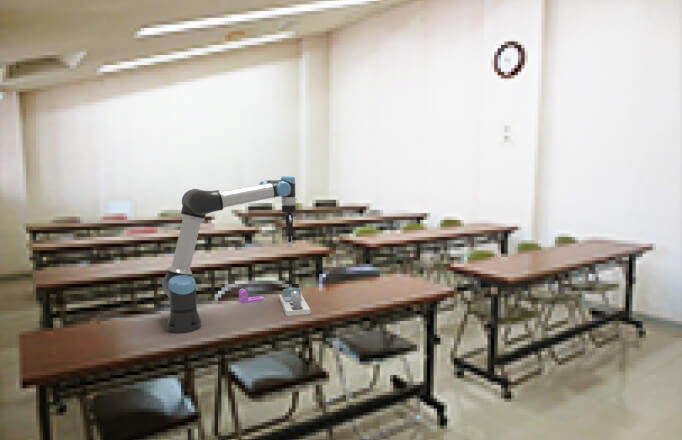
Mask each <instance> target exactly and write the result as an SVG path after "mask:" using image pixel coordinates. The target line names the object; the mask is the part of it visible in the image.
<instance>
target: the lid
mask: <svg viewBox="0 0 682 440" xmlns="http://www.w3.org/2000/svg"><path fill="white" fill-rule="evenodd" d="M282 291H283V293H282V294H283V295H282V298H283V299H284V300H285V302H288V301H291V291H299V295H302V293H301V287H297V288H296V287H295V288H284V289H282ZM301 300H302V297H301Z"/></svg>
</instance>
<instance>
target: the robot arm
mask: <svg viewBox="0 0 682 440" xmlns="http://www.w3.org/2000/svg"><path fill="white" fill-rule="evenodd" d="M279 197H281V204H282V205H281V212H282V213H285V215H284V221H285V233H286V234H285V237H286V249H293V236H294V235H293V233H294V232H293V231H294V230H293V226H294V225H293V224H294V215H293V214H292V213H296V211H297V210H296V209H297V206H296V201H297V198H296V178H295V176H294V175H292V176H291V175H288V176H287V175H286V176H285V175H283V176H281V177H280V179H277V180H274V179H273V180H261V181H260V182H259V184H257V185H251V186H247V187H239V188H234V189H228V190H223V191H220V190H219V189H217V190H203V189H198V188H192V189H190V190H189V189H188V190H187V191H186V192H184V194H183V195H182V198H181V205H182V206H181V211H180V215H181V217H182V221H181V226H180V228H179V234H178V237H177V241H176V242H177V243H176V247H175V251H174V255H173V260H172V263H171V266H169V267H168V268H167V270H166V275H165V276H164V278H163V279H162V282H161V287H162V290H163V293H164V294H165V295H166V296H167V297H168V299H169V309H170V310H169V311H170V313H169V315H168V321H167V324H166V329H168V330H167V331H168V332H170V331H171V332H170V333H175V332H177V334H179V333H180V334H181V333H190V332H192V331H196V330H199V328H201V327H202V319H201V316H200V314H199V312H198V309H197V308H198V307H197V284H196V283H197V282H196V280H195V278H194V277H193V276H192V275H193V272H192V270H191V265H192V261H193V258H194V253H195V249H196V245H197V241H198V240H197V239H198V236H199V231H200V228H201V223H202V222H203V221H204V220H206V215H208V214H211V213H216V212H218V211H223V210H224V209H225V208H229V207H233V206H238V205H243V204H248V203H253V202H257V201H262V200H269V199H273V198H279Z"/></svg>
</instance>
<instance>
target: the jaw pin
mask: <svg viewBox="0 0 682 440" xmlns="http://www.w3.org/2000/svg"><path fill="white" fill-rule="evenodd" d="M293 295H299V291H291V306H293Z"/></svg>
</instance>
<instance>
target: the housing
mask: <svg viewBox="0 0 682 440" xmlns="http://www.w3.org/2000/svg"><path fill="white" fill-rule="evenodd" d="M278 295H279V296H278V297H279V298H278V299H279V301H280V304H281V306H282V309H283V311H284V314H285V316H286V317H291V316H292V317H293V316H304V315H310V314H311V308H310V306H309V305H308V303H307V302H306V301H307V300H305V298H304V296H303V294H301V295H293V306H291V301H288V302H285V300H284V298H283V295H282V294H278ZM301 297H302V300H301Z"/></svg>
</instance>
